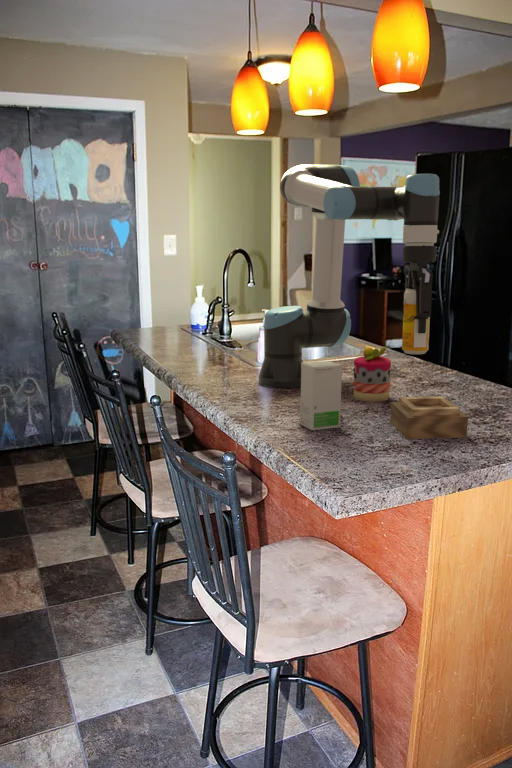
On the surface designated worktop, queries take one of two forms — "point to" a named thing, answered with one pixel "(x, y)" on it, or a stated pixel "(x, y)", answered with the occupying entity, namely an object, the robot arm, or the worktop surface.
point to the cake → (372, 376)
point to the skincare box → (320, 395)
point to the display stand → (428, 418)
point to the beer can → (411, 325)
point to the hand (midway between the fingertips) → (415, 344)
